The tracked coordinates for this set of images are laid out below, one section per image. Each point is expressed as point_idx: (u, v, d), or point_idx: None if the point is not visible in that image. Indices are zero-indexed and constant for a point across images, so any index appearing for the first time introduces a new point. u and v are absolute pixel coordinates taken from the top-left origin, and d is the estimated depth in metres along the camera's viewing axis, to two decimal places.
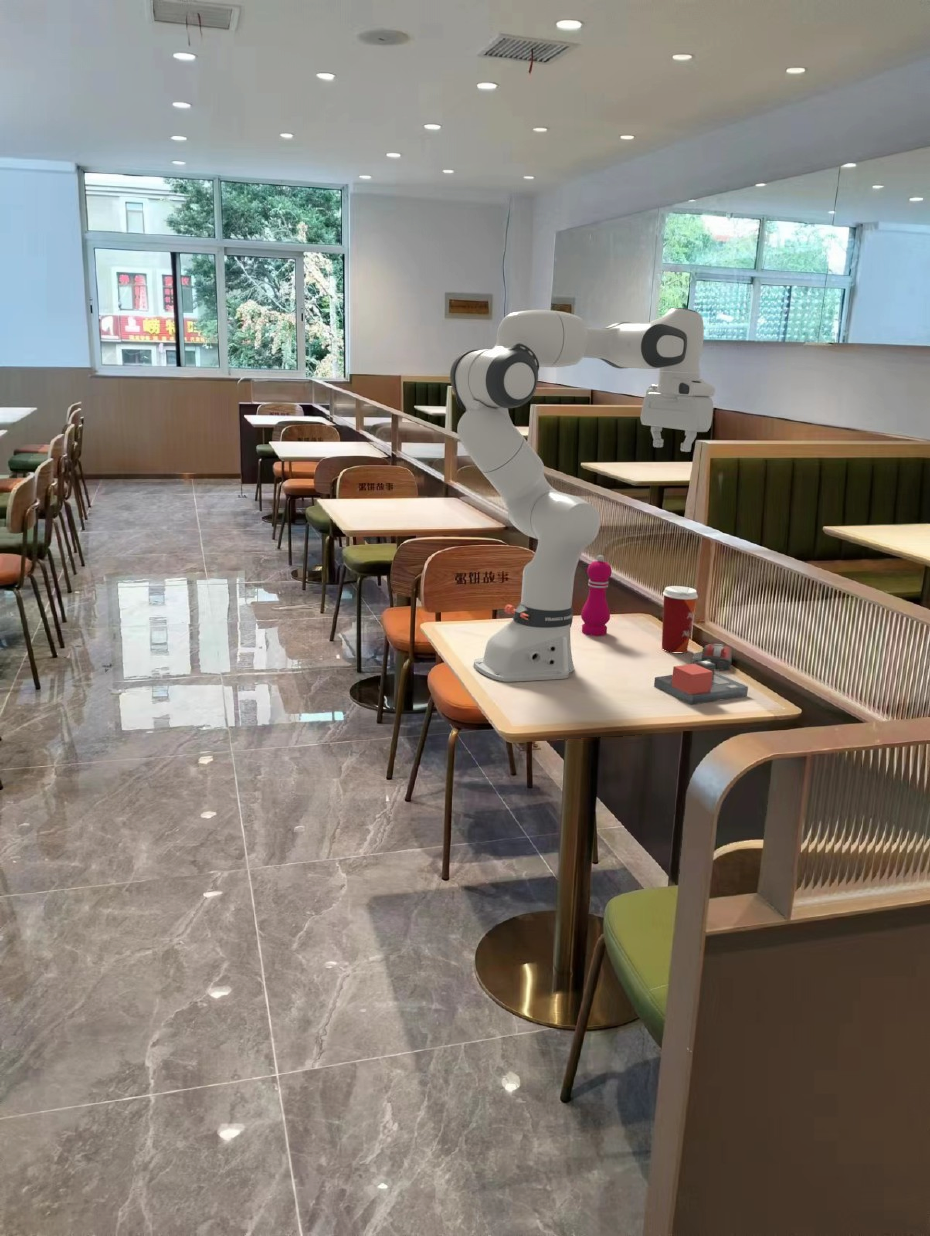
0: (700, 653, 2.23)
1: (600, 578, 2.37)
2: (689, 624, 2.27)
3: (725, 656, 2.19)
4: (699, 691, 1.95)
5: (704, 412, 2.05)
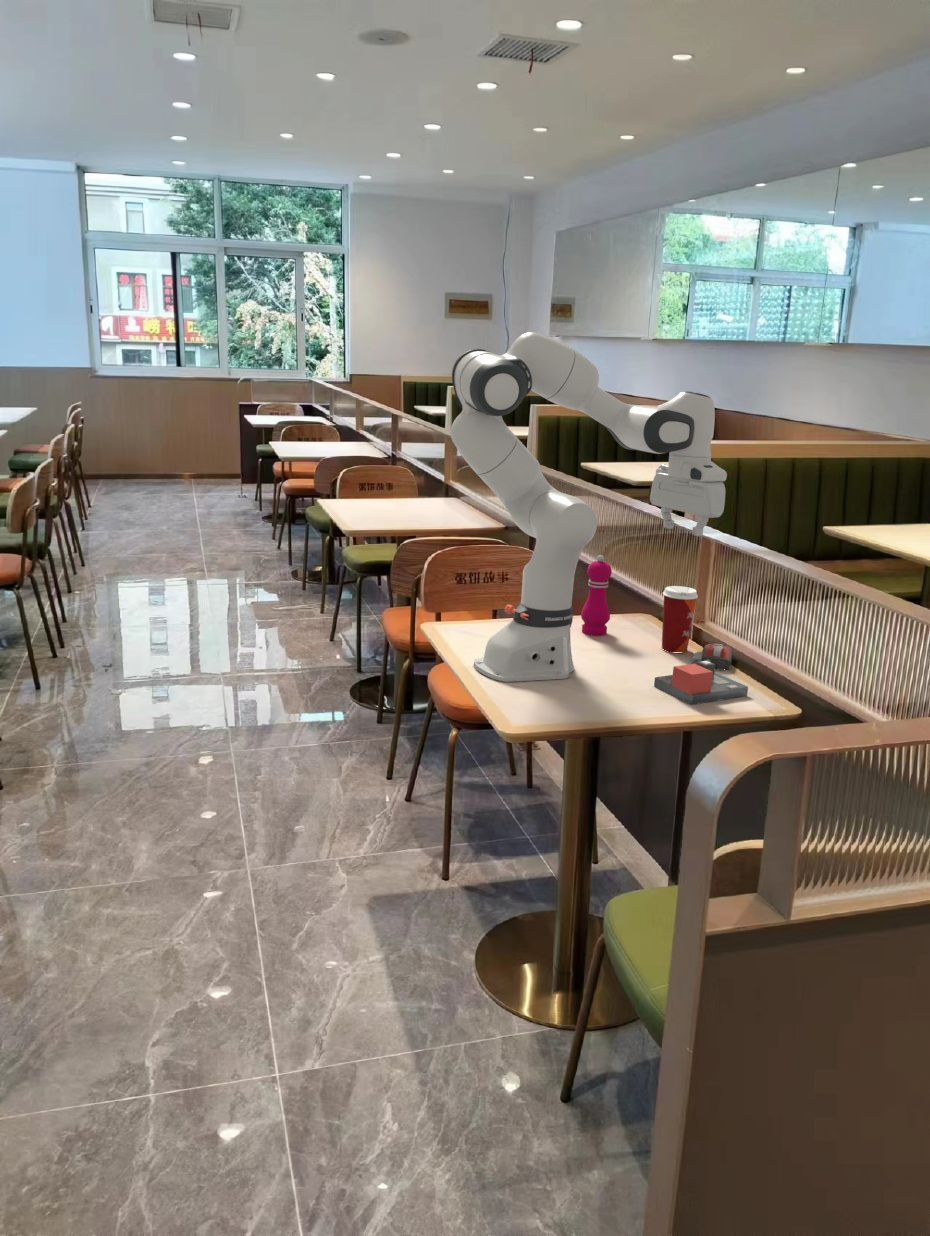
0: (700, 653, 2.23)
1: (600, 578, 2.36)
2: (689, 624, 2.27)
3: (725, 656, 2.19)
4: (699, 691, 1.95)
5: (716, 498, 2.01)
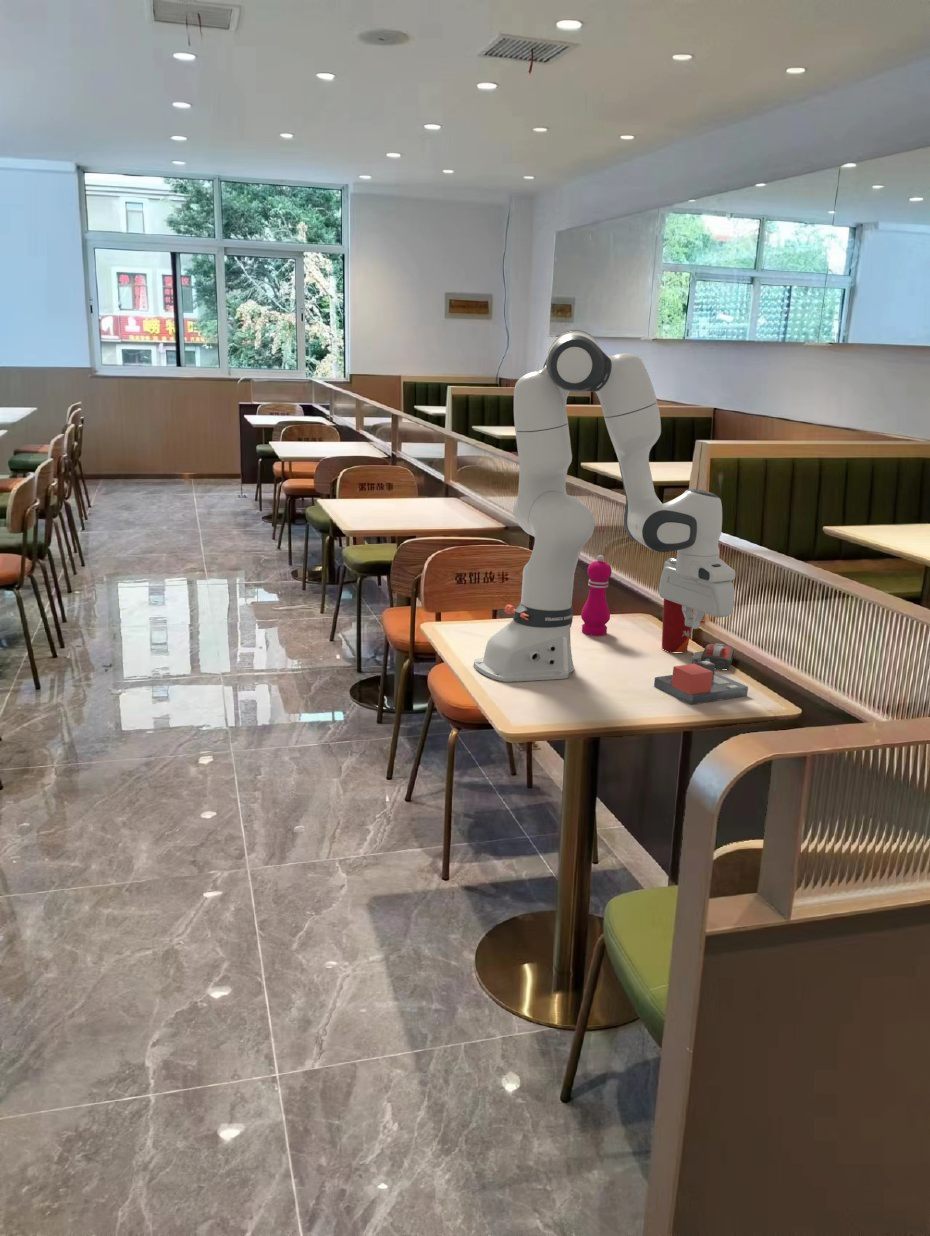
0: (700, 652, 2.23)
1: (600, 578, 2.37)
2: None
3: (725, 656, 2.19)
4: (699, 691, 1.95)
5: (725, 598, 1.99)
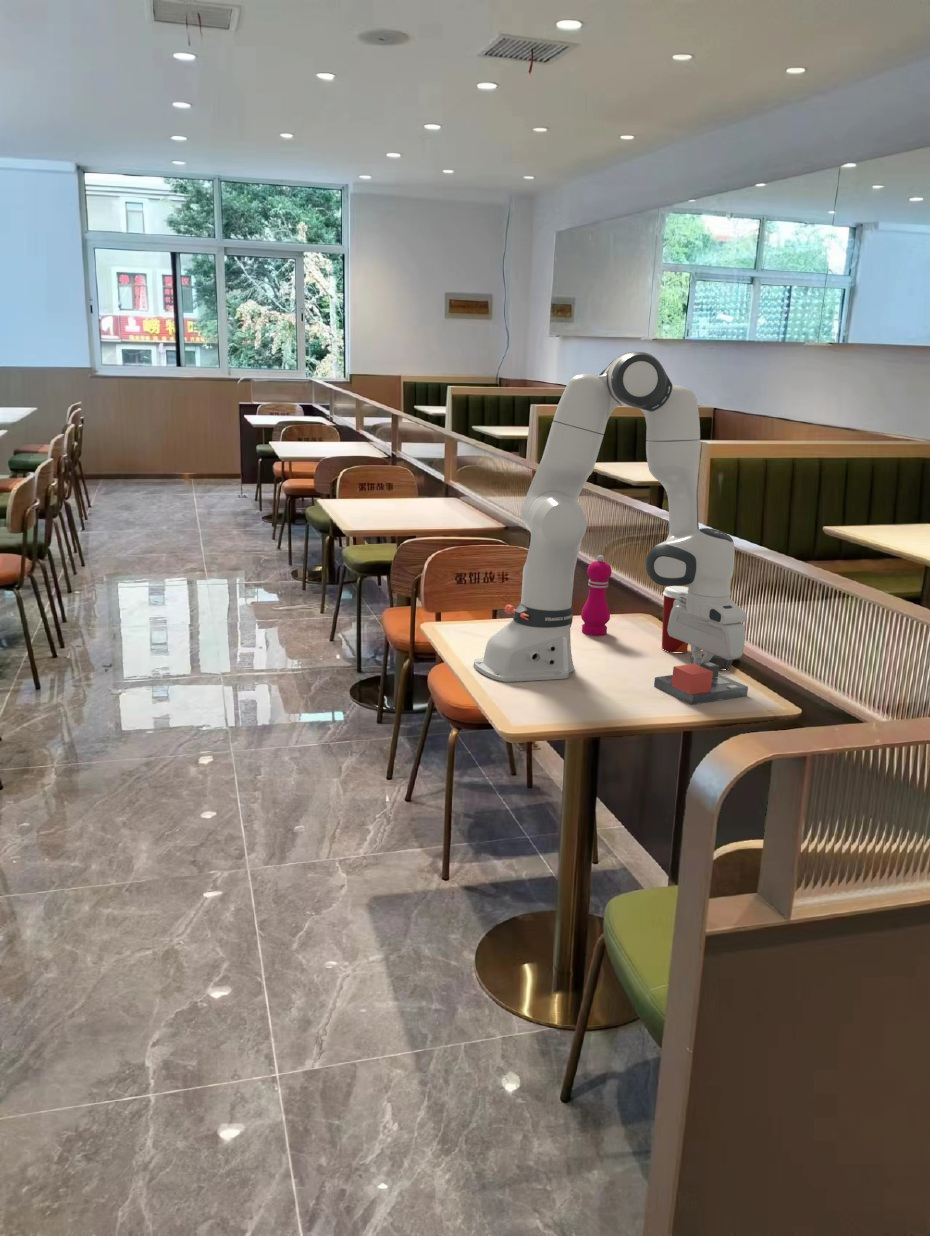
0: (701, 652, 2.24)
1: (600, 578, 2.37)
2: None
3: None
4: (699, 691, 1.95)
5: (736, 641, 1.97)
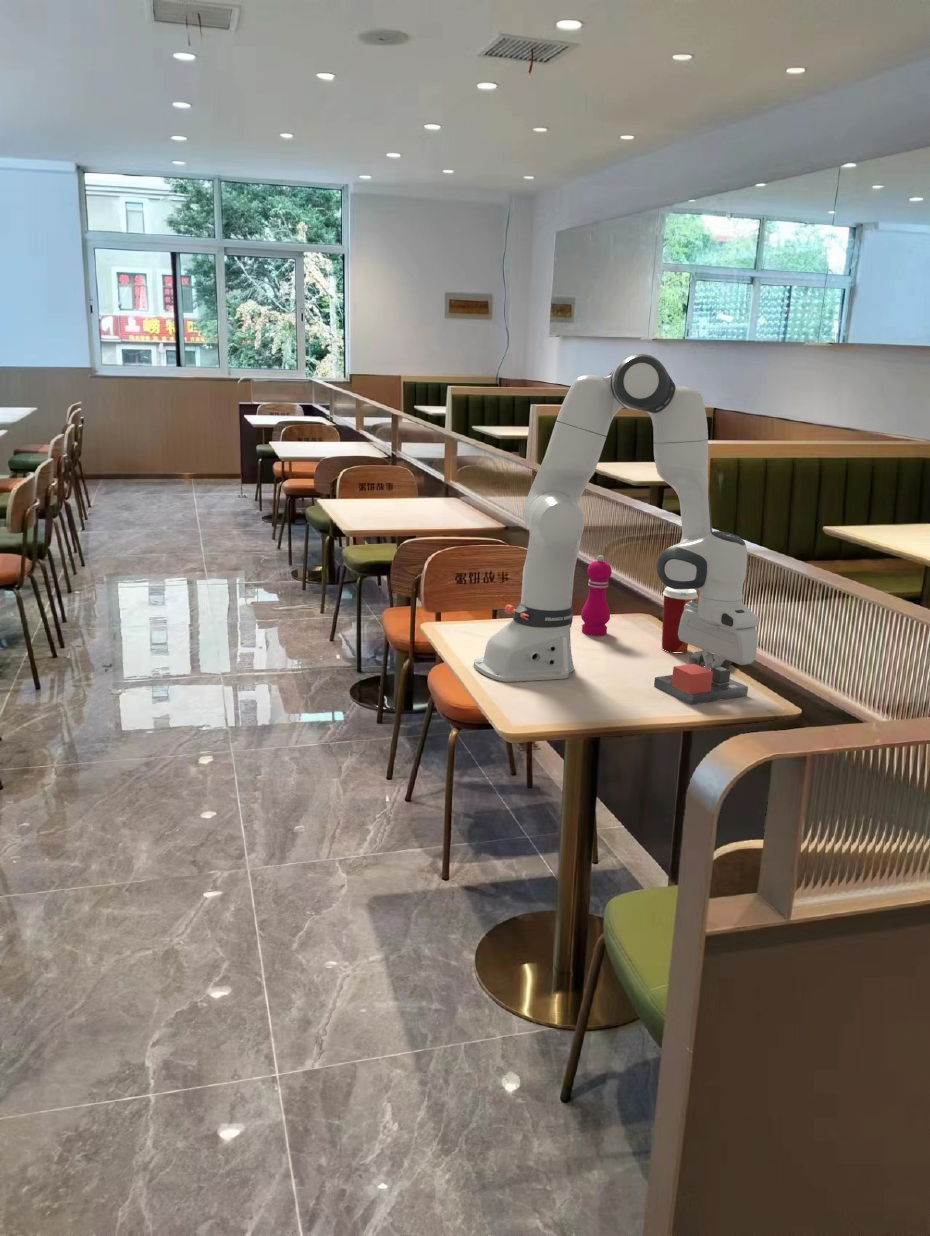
0: (700, 652, 2.24)
1: (600, 578, 2.37)
2: None
3: None
4: (699, 691, 1.95)
5: (748, 646, 1.94)
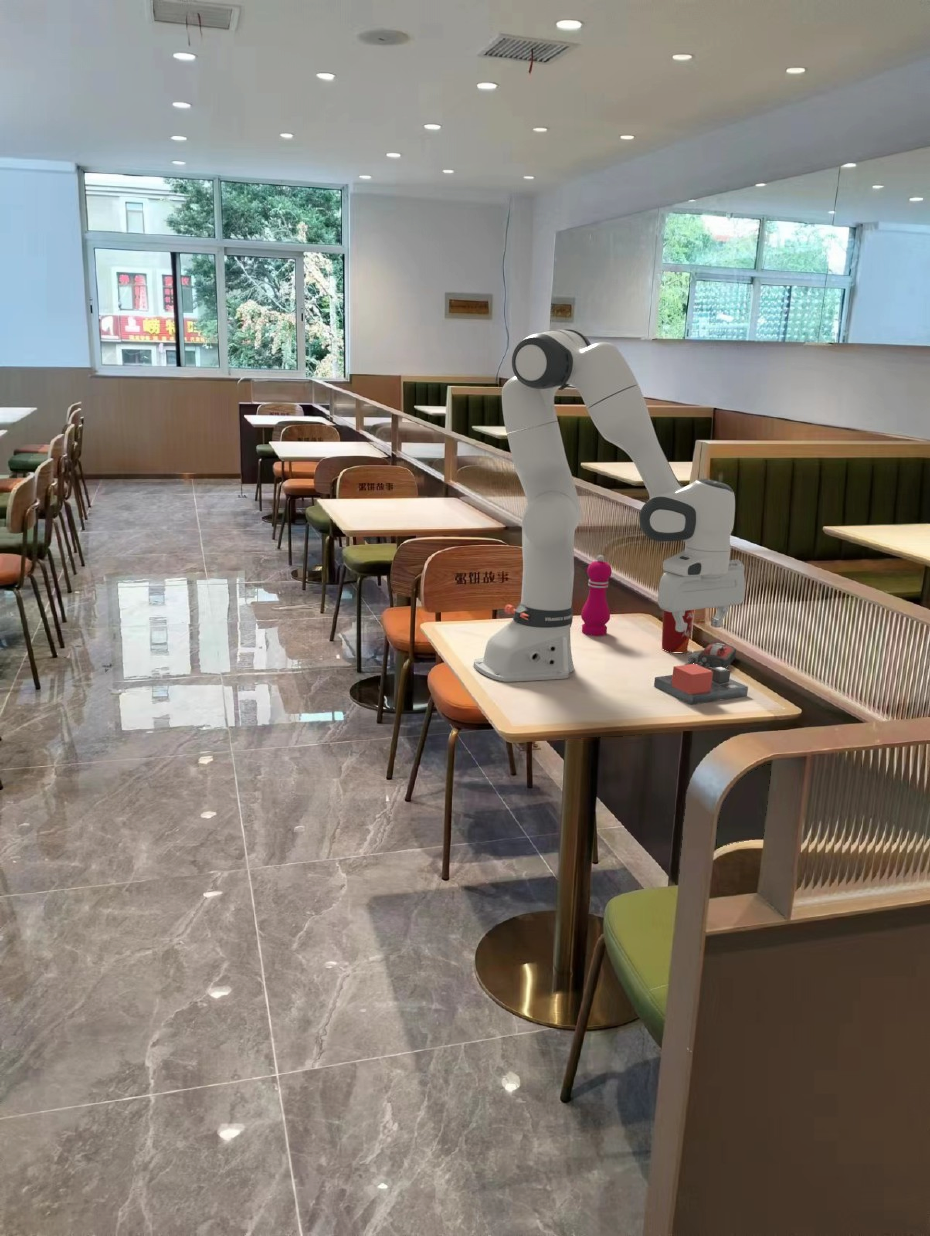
0: (700, 651, 2.24)
1: (600, 578, 2.37)
2: (689, 624, 2.27)
3: (722, 655, 2.19)
4: (699, 691, 1.95)
5: (664, 590, 1.88)
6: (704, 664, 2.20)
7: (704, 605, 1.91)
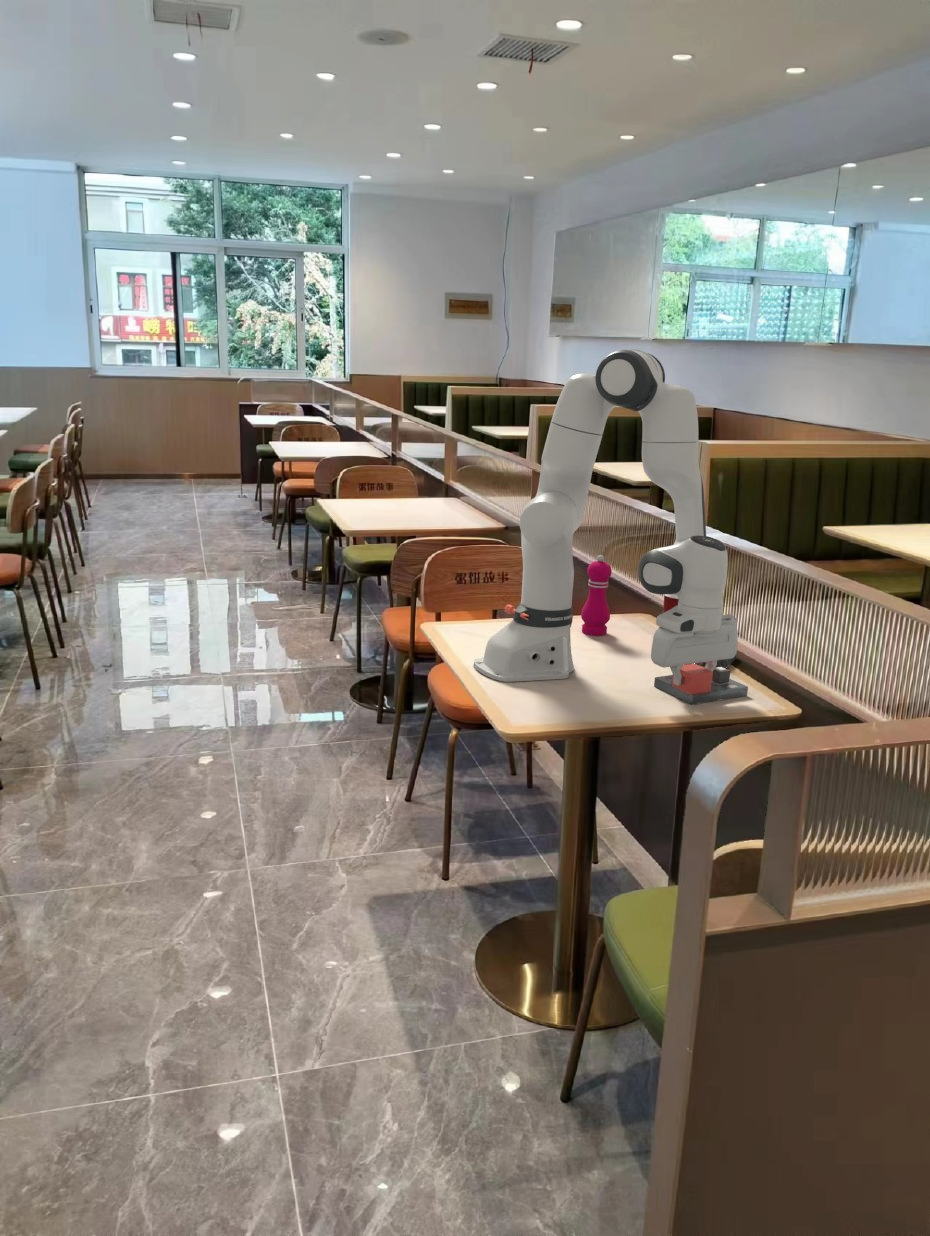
0: None
1: (600, 578, 2.37)
2: None
3: None
4: (699, 691, 1.95)
5: (657, 645, 1.91)
6: (704, 664, 2.20)
7: (696, 660, 1.94)
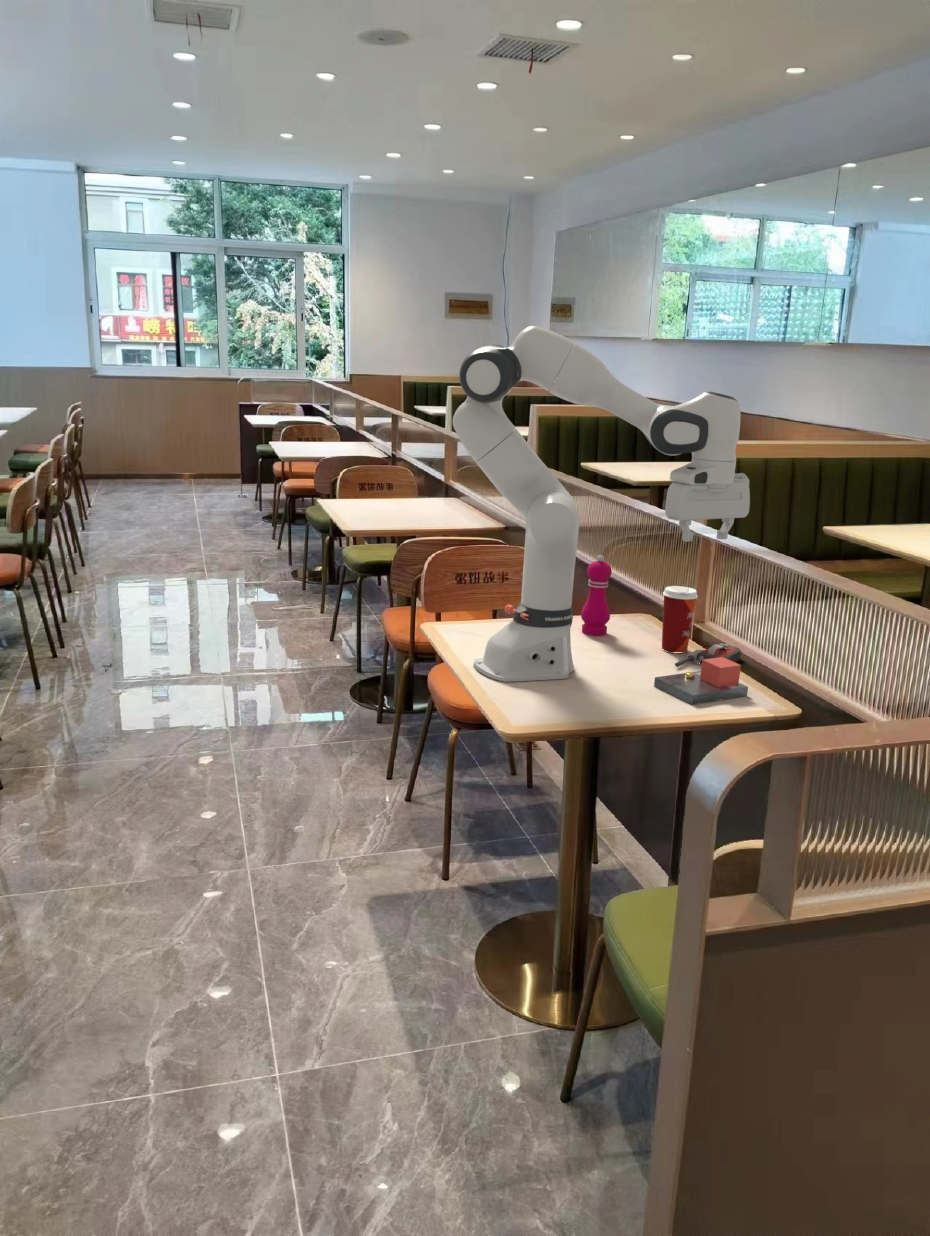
0: (702, 650, 2.25)
1: (600, 578, 2.37)
2: (689, 624, 2.27)
3: (720, 655, 2.20)
4: (727, 684, 2.00)
5: (671, 499, 1.94)
6: (701, 663, 2.21)
7: (710, 515, 1.97)
